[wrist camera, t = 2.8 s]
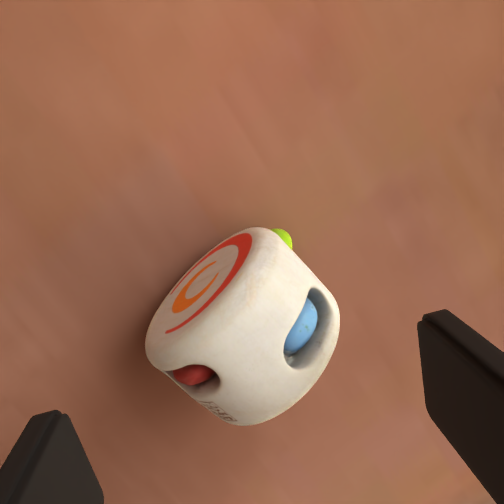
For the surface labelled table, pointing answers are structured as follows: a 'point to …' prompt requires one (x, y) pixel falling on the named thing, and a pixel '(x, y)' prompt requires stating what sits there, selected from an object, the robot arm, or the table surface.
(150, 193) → the table surface
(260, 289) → the roller toy
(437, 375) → the robot arm
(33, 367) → the table surface
